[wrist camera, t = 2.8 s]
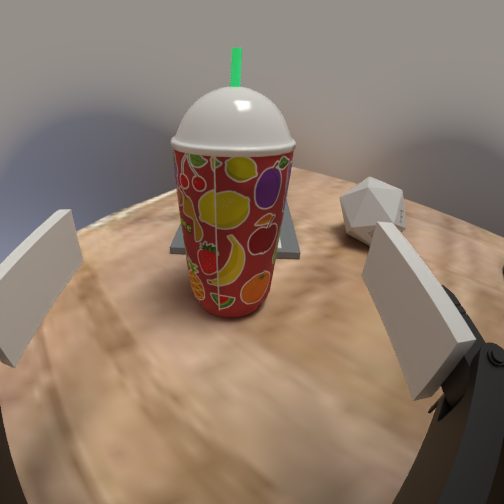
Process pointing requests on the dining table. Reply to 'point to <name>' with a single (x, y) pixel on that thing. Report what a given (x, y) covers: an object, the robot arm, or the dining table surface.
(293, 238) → the game board
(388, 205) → the die
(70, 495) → the dining table surface
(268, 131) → the smoothie
